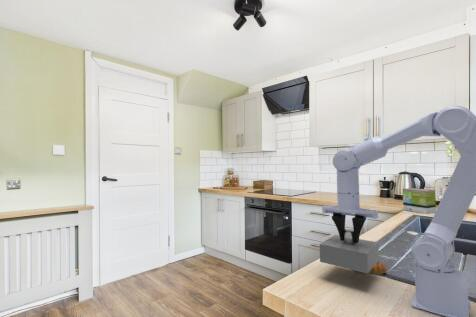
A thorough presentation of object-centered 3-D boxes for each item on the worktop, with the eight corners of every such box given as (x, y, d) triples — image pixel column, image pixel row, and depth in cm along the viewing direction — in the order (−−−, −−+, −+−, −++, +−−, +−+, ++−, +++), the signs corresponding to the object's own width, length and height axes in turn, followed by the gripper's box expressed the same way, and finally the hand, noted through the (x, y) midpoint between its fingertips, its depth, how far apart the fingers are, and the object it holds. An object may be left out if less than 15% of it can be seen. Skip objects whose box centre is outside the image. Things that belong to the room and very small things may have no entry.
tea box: (402, 210, 169) (401, 188, 170) (412, 209, 173) (411, 187, 174) (426, 214, 155) (425, 190, 156) (436, 212, 159) (435, 189, 160)
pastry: (387, 270, 76) (387, 257, 76) (385, 278, 71) (384, 265, 71) (354, 263, 82) (353, 251, 82) (349, 271, 76) (349, 258, 76)
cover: (378, 259, 71) (378, 230, 72) (367, 273, 62) (367, 239, 62) (335, 250, 79) (335, 223, 80) (320, 261, 70) (319, 231, 70)
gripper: (379, 193, 70) (381, 242, 69) (328, 190, 79) (329, 233, 79) (373, 195, 64) (375, 249, 64) (319, 192, 74) (320, 239, 73)
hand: (349, 241), depth 71 cm, fingers closed on cover, 3 cm apart
